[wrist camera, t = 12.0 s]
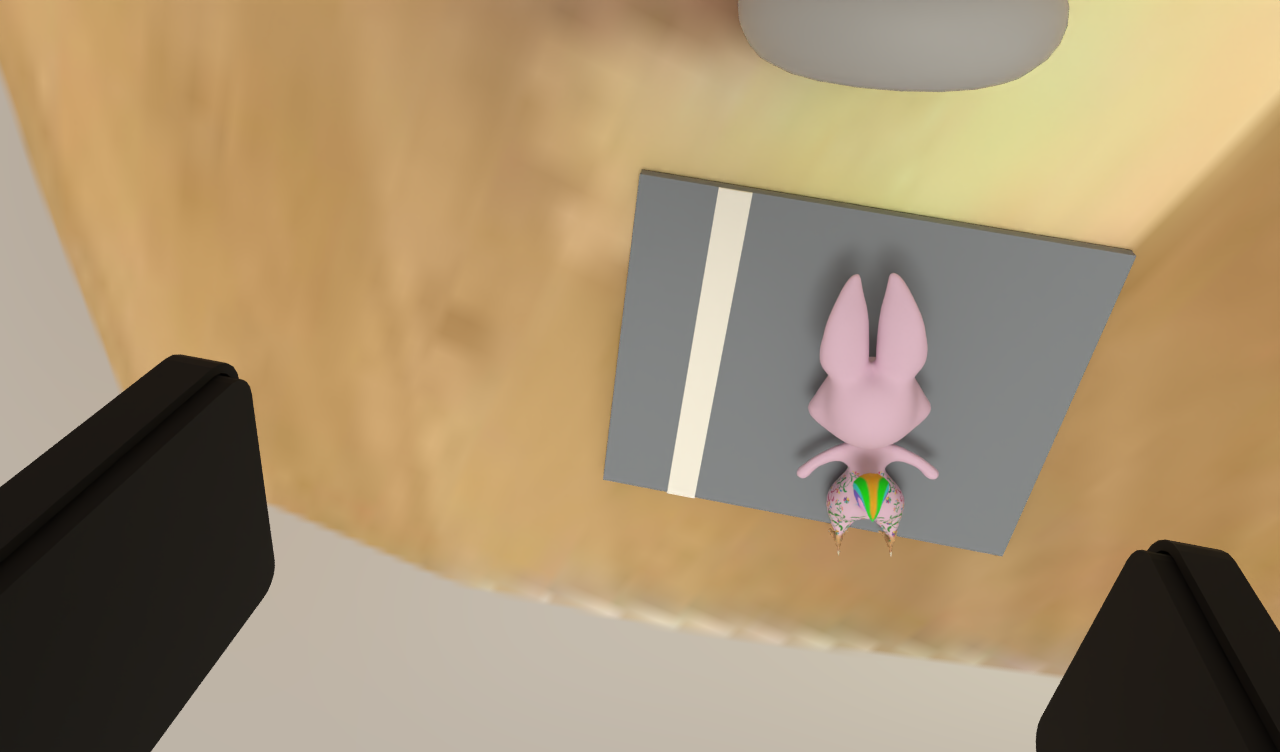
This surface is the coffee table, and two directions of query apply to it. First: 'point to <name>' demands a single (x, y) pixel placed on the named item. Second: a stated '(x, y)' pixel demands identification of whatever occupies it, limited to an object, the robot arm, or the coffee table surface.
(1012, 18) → the donut
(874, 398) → the rabbit figure
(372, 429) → the coffee table surface
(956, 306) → the mat
